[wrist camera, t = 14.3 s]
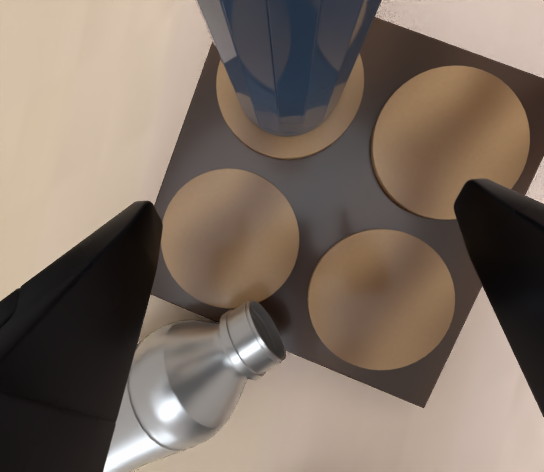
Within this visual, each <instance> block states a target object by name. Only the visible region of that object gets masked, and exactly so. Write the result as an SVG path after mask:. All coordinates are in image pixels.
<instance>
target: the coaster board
mask: <svg viewBox="0 0 544 472" xmlns="http://www.w3.org/2000/svg"><path fill="white" fill-rule="evenodd" d="M543 157H544V78H541V77H538V76H536V75H533V74H530V73H527V72H525V71H522V70H519V69H516V68H514V67H511V66H508V65H505V64H503V63H500V62H497V61H494V60H492V59H489V58H486V57H483V56H481V55H478V54H475V53H472V52H470V51H467V50H464V49H461V48H459V47H456V46H453V45H450V44H448V43H445V42H442V41H439V40H437V39H434V38H431V37H428V36H426V35H423V34H420V33H417V32H415V31H412V30H409V29H406V28H404V27H401V26H398V25H395V24H392V23H390V22H387V21H384V20H381V19H379V18H376V17H374V19H373V22H372V24H371V26H370V29H369V31H368V34H367V36H366V38H365V41H364V43H363V45H362V48H361V50H360V52H359V55H358V57H357V60H356V62H355V64H354V67H353V69H352V71H351V74H350V76H349V78H348V81H347V83H346V86H345V88H344V90H343V93H342V95H341V97H340V100H339V102H338V104H337V105H336V107H335V109H334V111H333V112H332V114H331V115H330V116H329V117H328V119H327V120H326V121H325V122H323V123H322V124H321V125H320V126H318V127H317V128H315V129H314V130H312V131H310V132H308V133H305V134H302V135H298V136H291V137H283V136H277V135H273V134H270V133H267V132H265V131H263V130H261V129H260V128H258V127H257V126H256V125H254V124H253V123H252V122H251V121H250V120H249V119H248V117H247V116H246V115H245V113H244V111H243V110H242V108H241V106H240V103H239V101H238V99H237V97H236V94H235V92H234V90H233V88H232V85H231V83H230V81H229V78H228V76H227V74H226V71H225V69H224V66H223V64H222V62H221V59H220V57H219V55H218V52H217V50H216V48H215V45H214V43H213V42H212V44H211V47H210V50H209V53H208V56H207V58H206V61H205V64H204V67H203V70H202V73H201V75H200V78H199V81H198V84H197V87H196V89H195V92H194V95H193V98H192V101H191V104H190V106H189V109H188V112H187V115H186V118H185V120H184V123H183V126H182V129H181V132H180V134H179V137H178V140H177V143H176V146H175V149H174V151H173V154H172V157H171V160H170V163H169V165H168V168H167V171H166V174H165V177H164V179H163V182H162V185H161V188H160V191H159V194H158V196H157V199H156V202H155V205H154V207H155V209H156V211H157V213H158V214H159V216H160V218H161V220H162V223H163V230H162V238H161V245H160V252H159V259H158V265H157V271H156V275H155V279H154V283H153V287H152V290H151V295H154V296H156V297H159V298H161V299H163V300H166V301H168V302H171V303H173V304H175V305H178V306H180V307H182V308H185V309H187V310H190V311H192V312H194V313H197V314H199V315H202V316H204V317H206V318H209V319H211V320H214V321H216V322H218V323H219V322H220V318H221V316H222V315H223V314H225V313H226V312H228V311H229V310H234V309H236V308H237V307H239V306H240V305H242V304H243V303H245V302H246V301H249V300H251V299H253V300H256V301H257V302H258V303H259V304H261V305H262V307H263V308H264V309H265V310H266V311H267V313H268V314H269V315H270V317H271V318H272V320H273V322H274V323H275V325H276V327H277V329H278V331H279V333H280V336H281V338H282V341H283V344H284V347H285V350H286V351H288V352H290V353H293V354H295V355H298V356H300V357H302V358H305V359H307V360H310V361H312V362H314V363H317V364H319V365H322V366H324V367H326V368H329V369H331V370H333V371H336V372H338V373H341V374H343V375H345V376H348V377H350V378H353V379H355V380H357V381H360V382H362V383H365V384H367V385H369V386H372V387H374V388H377V389H379V390H381V391H384V392H386V393H389V394H391V395H393V396H396V397H398V398H401V399H403V400H405V401H408V402H410V403H413V404H415V405H417V406H420V407H422V408H424V407H425V405H426V403H427V401H428V399H429V397H430V395H431V392H432V390H433V388H434V386H435V384H436V382H437V380H438V378H439V376H440V373H441V371H442V369H443V367H444V365H445V363H446V361H447V359H448V357H449V355H450V352H451V350H452V348H453V346H454V344H455V342H456V340H457V338H458V336H459V333H460V331H461V329H462V327H463V325H464V323H465V321H466V319H467V317H468V314H469V312H470V310H471V308H472V306H473V304H474V302H475V300H476V298H477V296H478V293H479V291H480V289H481V287H482V284H481V282H480V280H479V277H478V275H477V273H476V271H475V269H474V267H473V264H472V262H471V260H470V258H469V255H468V253H467V250H466V247H465V244H464V241H463V238H462V234H461V231H460V228H459V225H458V222H457V219H456V216H455V213H454V202H455V200H456V198H457V196H458V195H459V193H460V191H461V189H462V188H463V186H464V184H465V183H466V182H467V181H468V180H470V179H480V178H485V179H489V180H491V181H493V182H496V183H498V184H500V185H502V186H505V187H507V188H509V189H511V190H514V191H516V192H518V193H520V194H522V195H525V194H526V192H527V190H528V188H529V186H530V184H531V182H532V180H533V178H534V175H535V173H536V171H537V169H538V167H539V165H540V163H541V161H542V159H543Z"/></svg>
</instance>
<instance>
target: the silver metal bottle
mask: <svg viewBox="0 0 544 472" xmlns="http://www.w3.org/2000/svg"><path fill="white" fill-rule="evenodd" d="M285 356H286V354H285V347H284V344H283V341H282V338H281V336H280V333H279V331H278V329H277V327H276V325H275V323H274V322H273V320H272V318H271V317H270V315H269V314H268V313H267V311H266V310H265V309H264V308H263V307H262V305H261V304H259V303H258V302H257V301H256V300H253V299H251V300H249V301H246V302H245V303H243V304H242V305H240V306H239V307H237V308H236V309H234V310H229V311H228V312H226V313H225V314H223V315H222V316H221V318H220V322H219V323H212V322H205V321H179V322H175V323H171V324H168V325H164V326H162V327H160V328H159V329H157V330H156V331H155V332H153V333H152V334H150V335H149V336H148V337H146V338H145V339H144V340H143V341H142V342H141V343H139V344H138V345H137V347H136V350H135V354H134V358H133V362H132V365H131V369H130V373H129V376H128V380H127V384H126V388H125V391H124V395H123V399H122V403H121V406H120V410H119V414H118V418H117V421H116V422H115V423H116V426H115V430H114V434H113V437H112V441H111V445H110V448H109V452H108V456H107V460H106V463H105V467H104V471H103V472H131V471H133V470H135V469H137V468H139V467H141V466H143V465H145V464H147V463H150V462H153V461H156V460H158V459H161V458H164V457H167V456H170V455H172V454H175V453H178V452H181V451H184V450H186V449H188V448H192V447H194V446H196V445H198V444H201V443H203V442H205V441H207V440H209V439H210V438H212V437H213V436H214V435H215V434H216V433H217V432H218V431H219V430H220V429H221V428H222V427H223V425H224V424H225V423H226V422H227V421H228V420H229V418H230V416H231V414H232V412H233V410H234V408H235V406H236V404H237V402H238V400H239V398H240V396H241V393H242V390H243V388H244V385H245V382H246V380H247V378H249V379H251V380H256V379H258V378H260V377H261V376H263V375H264V374H265V373H266V371H267V370H269V369H271V368H272V367H274V366H276V365H277V364H279V363H281V362H282V360H284V359H285Z"/></svg>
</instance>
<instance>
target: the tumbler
mask: <svg viewBox="0 0 544 472" xmlns="http://www.w3.org/2000/svg"><path fill="white" fill-rule="evenodd" d="M195 1H196V3H197V5H198V8H199V10H200V12H201V15H202V17H203V20H204V22H205V24H206V27H207V29H208V31H209V34H210V36H211V38H212V41H213V43H214V45H215V48H216V50H217V52H218V55H219V57H220V59H221V62H222V64H223V66H224V69H225V71H226V74H227V76H228V78H229V81H230V83H231V85H232V88H233V90H234V92H235V94H236V97H237V99H238V101H239V103H240V106H241V108H242V110H243V111H244V113H245V115H246V116H247V117H248V119H249V120H250V121H251V122H252V123H253V124H254V125H256V126H257V127H258V128H260V129H261V130H263V131H265V132H267V133H270V134H273V135H277V136H283V137H291V136H298V135H302V134H305V133H308V132H310V131H312V130H314V129H315V128H317V127H318V126H320V125H321V124H322V123H323V122H325V121H326V120H327V119H328V117H329V116H330V115H331V114H332V112H333V111H334V109H335V107H336V105H337V104H338V102H339V100H340V97H341V95H342V93H343V90H344V88H345V86H346V83H347V81H348V78H349V76H350V74H351V71H352V69H353V67H354V64H355V62H356V60H357V57H358V55H359V52H360V50H361V48H362V45H363V43H364V41H365V38H366V36H367V34H368V31H369V29H370V26H371V24H372V22H373V19H374V17H375V15H376V12H377V10H378V8H379V5H380V3H381V0H195Z"/></svg>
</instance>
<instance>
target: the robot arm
mask: <svg viewBox="0 0 544 472" xmlns="http://www.w3.org/2000/svg"><path fill="white" fill-rule="evenodd" d="M454 213H455V216H456V219H457V222H458V225H459V228H460V231H461V234H462V238H463V241H464V244H465V247H466V250H467V253H468V255H469V258H470V260H471V262H472V264H473V267H474V269H475V271H476V273H477V275H478V277H479V280H480V282H481V284H482V286H483V288H484V290H485V292H486V295H487V297H488V299H489V301H490V303H491V305H492V307H493V310H494V312H495V314H496V316H497V318H498V320H499V322H500V325H501V327H502V329H503V331H504V333H505V335H506V338H507V340H508V342H509V344H510V346H511V348H512V350H513V353H514V355H515V357H516V359H517V361H518V363H519V365H520V368H521V370H522V372H523V374H524V376H525V378H526V380H527V383H528V385H529V387H530V389H531V391H532V393H533V396H534V398H535V400H536V402H537V404H538V406H539V408H540V411H541V413H542V415H543V417H544V204H543V203H540V202H538V201H536V200H534V199H531V198H529V197H527V196H525V195H522V194H520V193H518V192H516V191H514V190H511V189H509V188H507V187H505V186H502V185H500V184H498V183H496V182H493V181H491V180H489V179H485V178H480V179H470V180H468V181H467V182H466V183H465V184H464V186H463V188H462V189H461V191H460V193H459V195H458V196H457V198H456V200H455V202H454ZM162 230H163V223H162V220H161V218H160V216H159V214H158V213H157V211H156V209H155V207H154V205H153V204H152V203H151V202H150V201H137V202H134V203H133V204H132V205H130V206H129V207H127V208H126V209H125V210H123V211H122V212H121V213H119V214H118V215H117V216H115V217H114V218H113V219H111V220H110V221H109V222H107V223H106V224H104V225H103V226H102V227H100V228H99V229H98V230H96V231H95V232H94V233H92V234H91V235H90V236H88V237H87V238H86V239H84V240H83V241H81V242H80V243H79V244H77V245H76V246H75V247H73V248H72V249H71V250H69V251H68V252H67V253H65V254H64V255H63V256H61V257H60V258H58V259H57V260H56V261H54V262H53V263H52V264H50V265H49V266H48V267H46V268H45V269H44V270H42V271H41V272H40V273H38V274H37V275H35V276H34V277H33V278H31V279H30V280H29V281H27V282H26V283H25V284H23V285H22V286H21V288H19V289H16V290H15V291H14V292H12V293H11V294H10V295H8V296H7V297H6V298H4V299H3V300H2V301H0V472H103V471H104V467H105V463H106V460H107V456H108V452H109V448H110V445H111V441H112V437H113V434H114V430H115V426H116V423H115V422H116V421H117V418H118V414H119V410H120V406H121V403H122V399H123V395H124V391H125V388H126V384H127V380H128V376H129V373H130V369H131V365H132V362H133V358H134V354H135V350H136V347H137V343H138V339H139V335H140V332H141V328H142V324H143V320H144V317H145V313H146V309H147V305H148V302H149V298H150V294H151V290H152V287H153V283H154V279H155V275H156V271H157V265H158V259H159V252H160V245H161V238H162Z"/></svg>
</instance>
